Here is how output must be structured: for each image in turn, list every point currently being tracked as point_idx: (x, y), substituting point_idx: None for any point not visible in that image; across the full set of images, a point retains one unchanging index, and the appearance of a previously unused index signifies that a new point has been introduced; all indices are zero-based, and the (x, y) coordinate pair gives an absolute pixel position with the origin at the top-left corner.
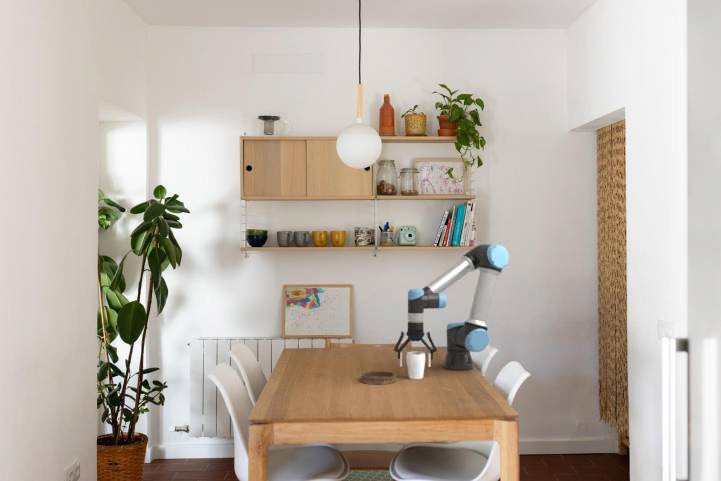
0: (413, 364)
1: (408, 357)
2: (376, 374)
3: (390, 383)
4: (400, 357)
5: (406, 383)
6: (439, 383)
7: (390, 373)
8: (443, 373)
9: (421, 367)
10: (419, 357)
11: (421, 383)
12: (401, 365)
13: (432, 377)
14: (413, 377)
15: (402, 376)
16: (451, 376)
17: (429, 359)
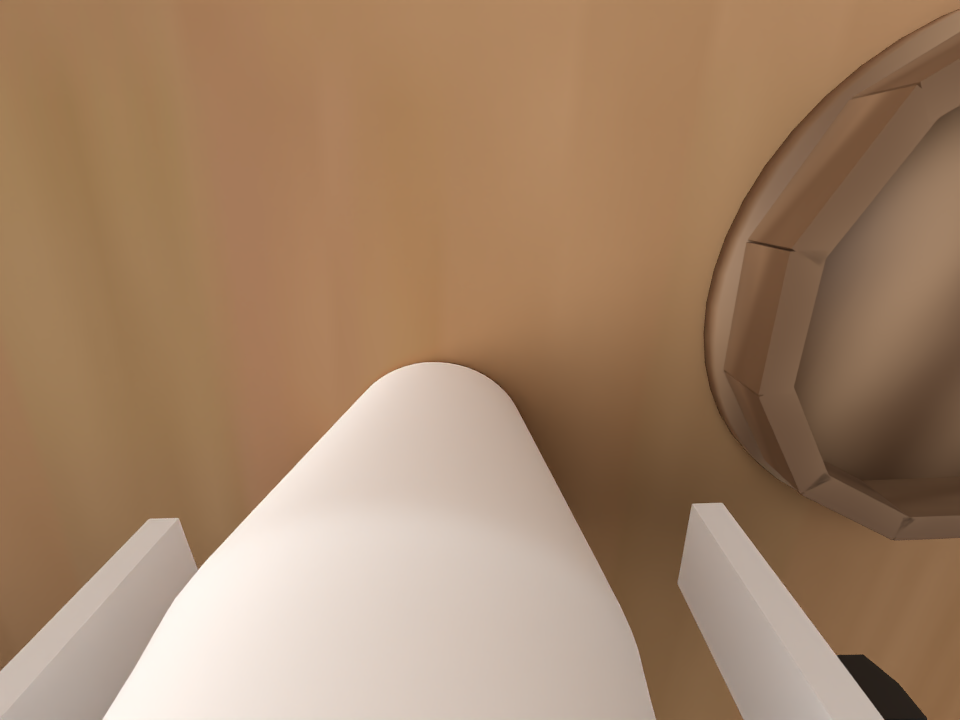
0: (472, 461)
1: (628, 666)
2: (946, 488)
3: (862, 65)
4: (856, 687)
5: (598, 88)
6: (61, 79)
7: (809, 439)
8: None
9: (311, 452)
10: (247, 611)
11: (357, 84)
12: (709, 517)
13: (234, 466)
14: (472, 375)
15: (593, 512)
16: (13, 512)
17: (41, 654)
